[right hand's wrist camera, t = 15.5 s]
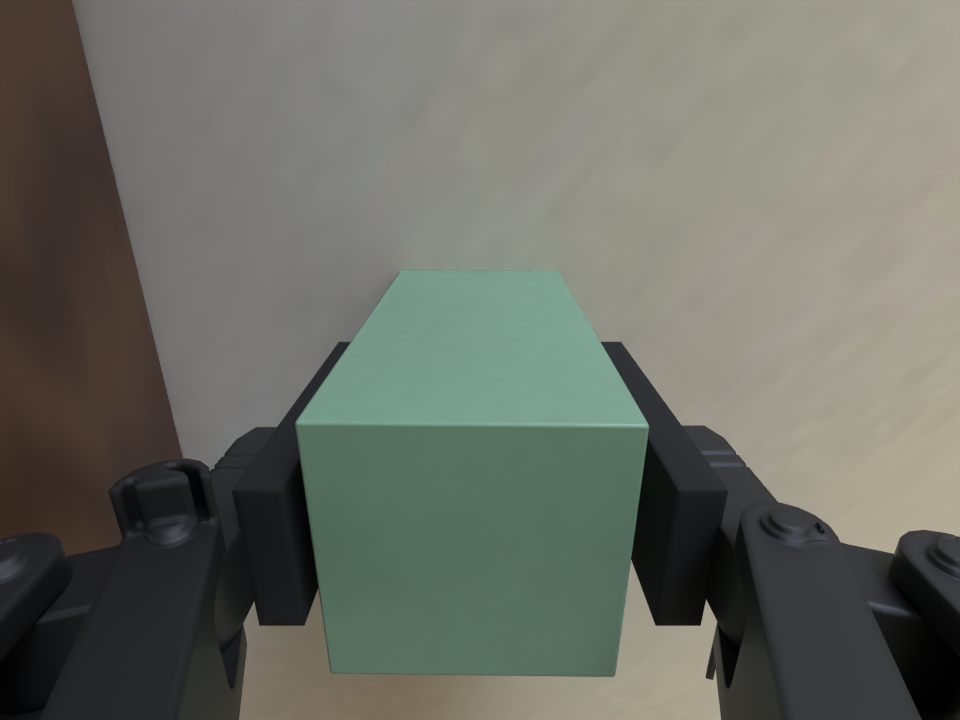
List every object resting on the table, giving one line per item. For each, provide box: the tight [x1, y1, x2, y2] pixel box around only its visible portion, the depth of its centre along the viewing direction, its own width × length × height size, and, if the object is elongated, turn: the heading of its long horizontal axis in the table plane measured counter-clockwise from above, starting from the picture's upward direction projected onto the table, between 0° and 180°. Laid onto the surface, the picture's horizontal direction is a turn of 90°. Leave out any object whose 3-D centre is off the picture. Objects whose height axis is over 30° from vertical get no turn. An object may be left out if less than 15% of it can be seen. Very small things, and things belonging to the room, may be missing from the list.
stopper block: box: [295, 270, 649, 677], centre depth 13 cm, size 5×5×10 cm
